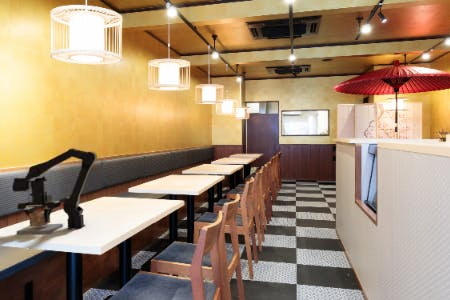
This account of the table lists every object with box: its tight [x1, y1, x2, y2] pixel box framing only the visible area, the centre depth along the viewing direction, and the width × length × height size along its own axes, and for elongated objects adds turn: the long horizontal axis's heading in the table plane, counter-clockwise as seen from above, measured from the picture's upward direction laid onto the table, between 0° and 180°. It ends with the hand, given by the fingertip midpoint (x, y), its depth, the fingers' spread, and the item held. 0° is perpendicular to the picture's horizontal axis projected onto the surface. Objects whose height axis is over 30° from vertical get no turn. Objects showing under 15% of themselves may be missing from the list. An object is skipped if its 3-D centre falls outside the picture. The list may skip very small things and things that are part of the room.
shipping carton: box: [28, 210, 51, 226], centre depth 166 cm, size 6×6×6 cm
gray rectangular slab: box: [16, 223, 64, 235], centre depth 166 cm, size 16×12×2 cm
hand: (40, 222), depth 166 cm, fingers closed on shipping carton, 6 cm apart
